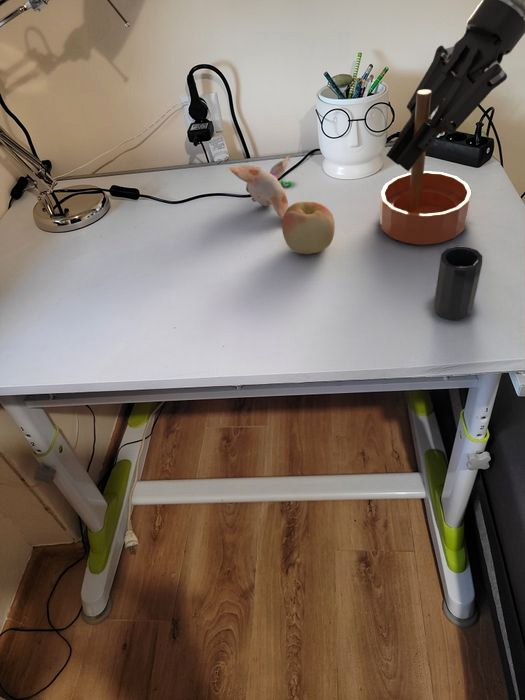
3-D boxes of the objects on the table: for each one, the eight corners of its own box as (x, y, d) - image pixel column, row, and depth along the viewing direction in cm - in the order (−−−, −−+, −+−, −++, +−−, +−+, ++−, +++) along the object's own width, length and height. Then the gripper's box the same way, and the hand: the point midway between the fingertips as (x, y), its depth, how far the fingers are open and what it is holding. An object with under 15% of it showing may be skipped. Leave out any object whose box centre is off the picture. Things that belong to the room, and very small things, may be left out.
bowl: (482, 217, 88) (488, 185, 84) (434, 257, 82) (438, 225, 78) (411, 194, 96) (413, 164, 92) (363, 229, 90) (363, 199, 86)
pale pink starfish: (239, 154, 104) (212, 186, 94) (262, 127, 99) (235, 158, 89) (292, 205, 108) (270, 241, 98) (316, 181, 103) (296, 217, 93)
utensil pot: (478, 306, 73) (490, 254, 67) (458, 325, 71) (468, 274, 64) (446, 292, 76) (454, 241, 70) (426, 310, 74) (432, 260, 67)
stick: (422, 213, 87) (434, 90, 73) (415, 218, 86) (426, 95, 72) (412, 210, 88) (422, 88, 74) (405, 215, 87) (414, 93, 73)
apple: (281, 239, 92) (276, 199, 86) (330, 230, 91) (328, 190, 86) (288, 267, 85) (283, 226, 80) (340, 258, 85) (339, 216, 80)
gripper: (558, 40, 68) (440, 193, 76) (481, 20, 78) (384, 157, 87) (537, 3, 63) (412, 170, 72) (457, -13, 73) (357, 135, 82)
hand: (397, 163), depth 79 cm, fingers closed on stick, 2 cm apart
